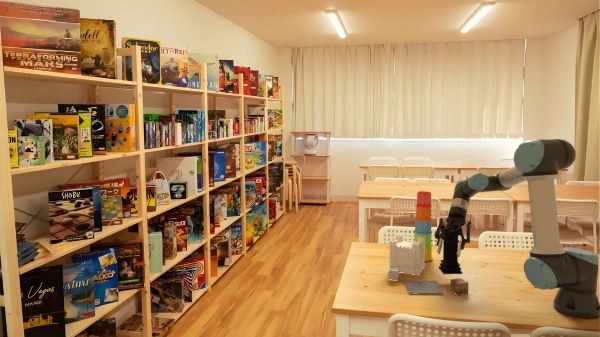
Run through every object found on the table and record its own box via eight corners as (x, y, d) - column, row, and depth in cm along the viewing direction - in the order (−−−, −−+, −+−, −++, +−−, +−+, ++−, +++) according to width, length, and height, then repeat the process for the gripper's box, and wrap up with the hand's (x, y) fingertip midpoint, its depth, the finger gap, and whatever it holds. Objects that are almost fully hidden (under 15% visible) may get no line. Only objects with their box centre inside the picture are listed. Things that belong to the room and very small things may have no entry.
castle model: (388, 271, 210) (388, 241, 208) (396, 262, 222) (397, 233, 220) (418, 276, 203) (419, 244, 201) (425, 266, 215) (426, 236, 214)
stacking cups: (407, 257, 229) (408, 191, 225) (423, 254, 233) (424, 189, 229) (421, 263, 220) (422, 194, 215) (437, 260, 224) (438, 193, 220)
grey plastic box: (397, 282, 197) (397, 271, 196) (388, 281, 198) (388, 270, 198) (399, 277, 202) (399, 266, 202) (390, 276, 204) (390, 265, 203)
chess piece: (462, 274, 191) (463, 228, 189) (443, 274, 191) (444, 229, 189) (456, 267, 199) (457, 224, 197) (438, 268, 199) (438, 224, 197)
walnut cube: (468, 294, 183) (468, 282, 182) (457, 295, 181) (457, 283, 181) (460, 289, 188) (461, 278, 187) (450, 290, 186) (450, 279, 186)
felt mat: (443, 294, 182) (443, 293, 182) (409, 294, 183) (409, 292, 183) (436, 281, 196) (436, 280, 196) (403, 281, 197) (403, 280, 197)
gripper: (483, 217, 200) (474, 262, 188) (437, 212, 211) (426, 254, 199) (481, 207, 195) (471, 253, 183) (434, 203, 206) (422, 246, 194)
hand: (448, 253), depth 191 cm, fingers closed on chess piece, 8 cm apart
